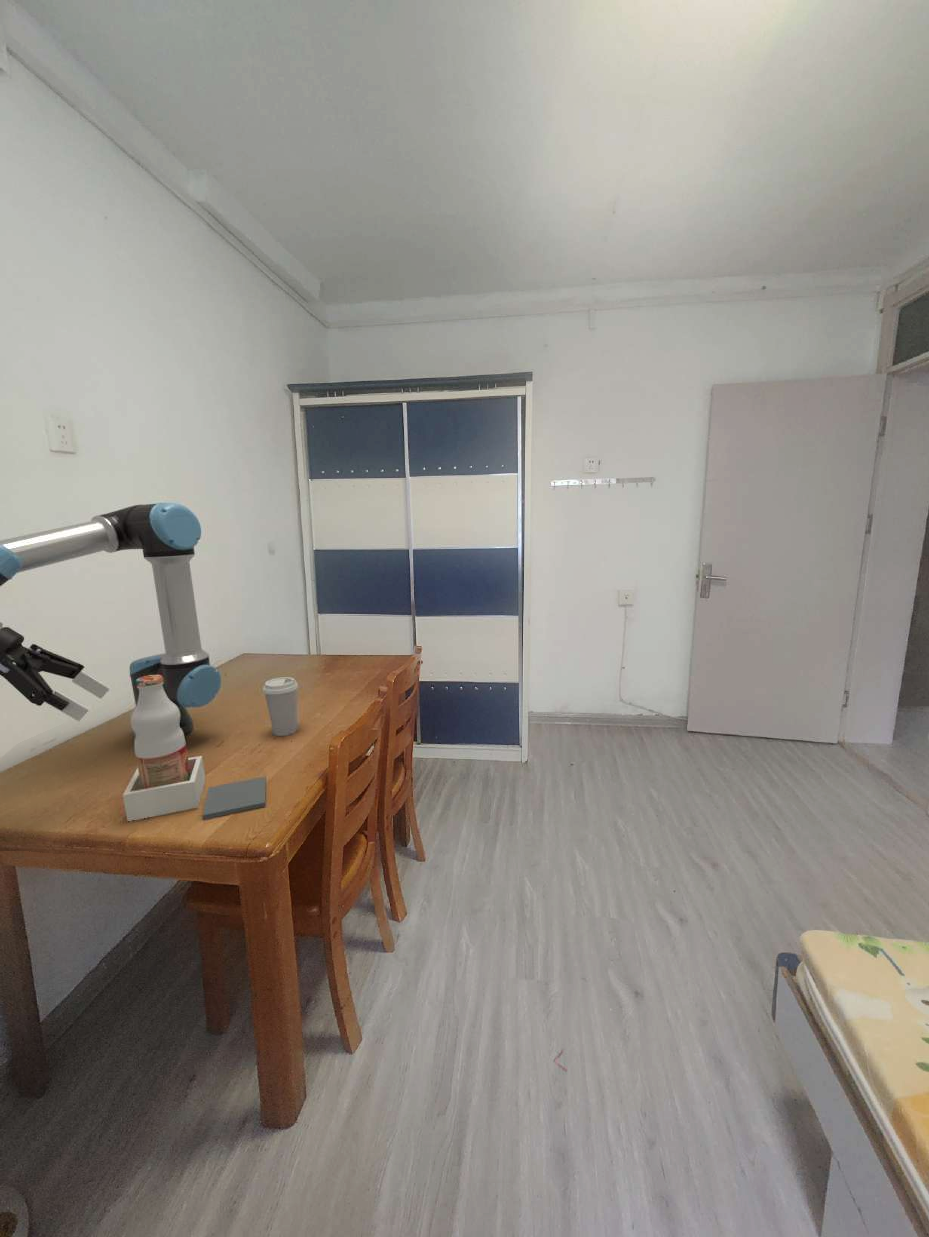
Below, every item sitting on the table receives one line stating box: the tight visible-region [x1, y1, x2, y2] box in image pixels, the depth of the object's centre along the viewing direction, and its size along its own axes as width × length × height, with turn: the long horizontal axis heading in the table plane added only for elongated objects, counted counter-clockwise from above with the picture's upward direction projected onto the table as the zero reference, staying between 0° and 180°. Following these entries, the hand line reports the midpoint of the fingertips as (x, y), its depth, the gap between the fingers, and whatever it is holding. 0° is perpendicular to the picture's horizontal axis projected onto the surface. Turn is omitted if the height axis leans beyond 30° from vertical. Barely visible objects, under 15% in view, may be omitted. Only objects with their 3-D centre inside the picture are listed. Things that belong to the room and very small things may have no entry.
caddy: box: [122, 755, 206, 822], centre depth 113 cm, size 13×13×6 cm
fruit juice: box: [130, 675, 191, 789], centre depth 110 cm, size 9×9×28 cm
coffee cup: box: [262, 676, 299, 737], centre depth 146 cm, size 10×10×15 cm
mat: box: [201, 775, 267, 821], centre depth 112 cm, size 12×12×1 cm
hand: (96, 703), depth 105 cm, fingers open, 13 cm apart
